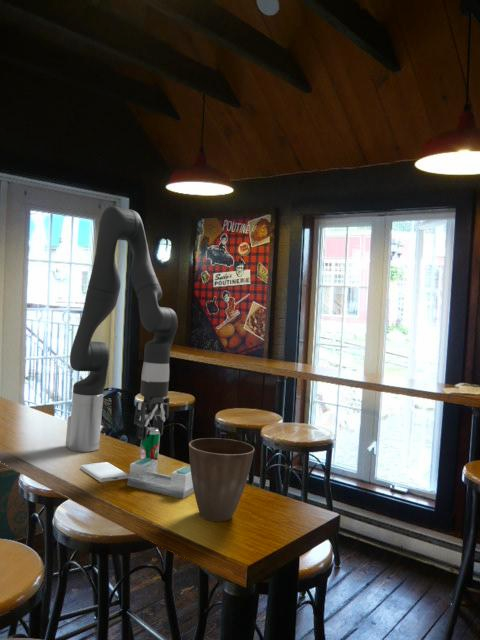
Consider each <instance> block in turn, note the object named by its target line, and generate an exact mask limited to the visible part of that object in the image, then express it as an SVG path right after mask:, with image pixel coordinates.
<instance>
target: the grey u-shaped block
mask: <svg viewBox="0 0 480 640" xmlns="http://www.w3.org/2000/svg"><path fill="white" fill-rule="evenodd" d="M158 463H159V459H158V460H153V459H149V458H143V459H141V460H139V459H138V460H135V461H134V462H131V463H130V464H129V473H128V475H129V477H128V478H127V486H128V487H133V488H137V489H141V490H145V491H148V492H154V493H158V494H161V495H166V496H169V497H175V498H179V499H183V500H184V499H185V498H187V497H188V496H190V495H192V494H194V489H193V483H192V476H191V469H190V466H185V465H184V466H183V467H181V468H178V469H175V470H174V471H172V472H171V475H168V474H162V473H158ZM191 493H192V494H191Z"/></svg>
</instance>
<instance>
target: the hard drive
mask: <svg viewBox="0 0 480 640" xmlns="http://www.w3.org/2000/svg"><path fill="white" fill-rule="evenodd" d="M80 470H82V471H83V472H85V474H87V475H89V476H90V477H92V478H93V479H95V480H97V481H98V482H99V483H105V482H111V481H119V480H125V479H127V480H128V477H129V473H126V472H125V471H123V470H122V469H120V468H118V467H116V466H115V465H113V464H111V463H110V462H109V461H108V462H107V461H105V462H95V463H89V464H88V463H87V464H82V465H80Z"/></svg>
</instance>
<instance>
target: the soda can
mask: <svg viewBox="0 0 480 640" xmlns="http://www.w3.org/2000/svg"><path fill="white" fill-rule="evenodd" d="M160 439H161V435H160V432H159V429H158V428H155V427H153V426H151V427H150V426H147V439H146V440H144V441H143V440H140V449H139V450H140V451H139V459H138V460H141V459H143V458H149V459H153V460H158V461H159V452H160V451H159V450H160V441H161V440H160Z"/></svg>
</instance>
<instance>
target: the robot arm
mask: <svg viewBox="0 0 480 640" xmlns="http://www.w3.org/2000/svg"><path fill="white" fill-rule="evenodd" d="M118 240H119V241H126V243H127V244H128V246H129V249H130V251H131V254H132V256H131V257H132V259H131V264H130V273H129V274H130V280H131V283H132V287H133V289H134V291H135V294H136V297H137V301H138V302H137V303H138V311H139V319H140V322H141V325H142V326H143V328H144V329H145V330H146V331H148V332H151V333H154V336H153V339H151V340H149V341H147V342H146V343H145V346H144V351H143V352H144V354H143V363H142V370H141V378H140V379H141V381H140V395H141V396H142V397H143V401H137V402H136V403H135V410H134V411H135V412H134V418H133V424H134V425H137V426H138V438H137V439H138V440H140V441H141V440H143V441H144V440H146V439H147V427H148V425H149V424H150V421H151V420H153V417H154V419H155V420H156V421H155V425H154V428H158V429H159V432H160V436H162V435H163V433H164V423H165V422H166V420H167V419H169V415H170V398H169V397H168V395H169V394H168V393H169V382H170V360H171V359H170V358H171V347H172V344H173V343H174V338H175V336H176V332H177V330H178V325H179V324H178V323H179V322H178V316H177V313H176V312H175V311H174V309H172V308H170V307H165V306H164V307H163V306H159V303H158V301H160V300H161V299H162V297H163V290H162V288H161V287H162V286H161V285H160V282H159V279H158V277H157V275H156V273H155V269H154V267H153V264H152V261H151V260H152V259H151V256H150V251H149V245H148V241H147V237H146V231H145V228H144V224H143V220H142V218H141V216H140V214H139V213H138V212H137V211H135V210H134V209H129V208H124V207H120V206H108V207H105V209H104V210H103V211H102V214H101V216H100V221H99V225H98V232H97V241H96V249H95V254H94V259H93V264H92V269H91V274H90V278H89V281H88V285H87V289H86V294H85V299H84V304H83V308H82V313H81V317H80V321H79V325H78V328H77V330H76V333H75V337H74V340H73V342H72V345H71V349H70V355H69V356H70V357H69V362H70V363H69V365H70V368H71V369H72V370H73V371H76V372H89V374H88V375H87V376H86V377H85V378H82V379H81V380H78V381H76V382H75V383H73V386H72V397H71V399H72V400H71V409H70V415H69V416H68V417H67V422H66V423H67V426H66V433H65V434H66V435H65V448H68V449H69V450H70V451H74V452H83V453H84V452H85V453H87V452H94V451H95V452H96V451H97V450H99V448H100V440H101V439H100V438H101V426H102V416H103V406H104V405H103V404H104V393H105V391H104V390H105V387H106V384H107V379H108V378H107V377H108V370H109V364H110V350H109V346H108V345H107V343H105V342H103V341H92V339H93V336H94V334H95V333H96V330H97V329H98V327H99V326H100V325H101V324H102V323H103V322H104V321H105V320H106V319H107V318H108V317H109V315H110V314H111V313H112V312H113V311H114V310H115V308H116V306H117V303H118V298H119V295H120V292H121V291H120V290H121V287H122V286H121V278H120V273H119V272H118V271H119V270H118V267H117V264H116V260H115V259H116V258H115V256H116V249H117V243H118Z"/></svg>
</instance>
